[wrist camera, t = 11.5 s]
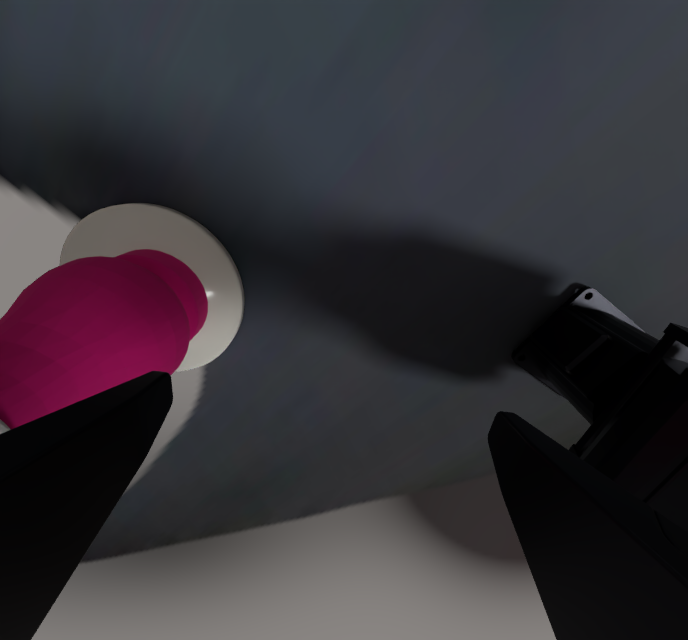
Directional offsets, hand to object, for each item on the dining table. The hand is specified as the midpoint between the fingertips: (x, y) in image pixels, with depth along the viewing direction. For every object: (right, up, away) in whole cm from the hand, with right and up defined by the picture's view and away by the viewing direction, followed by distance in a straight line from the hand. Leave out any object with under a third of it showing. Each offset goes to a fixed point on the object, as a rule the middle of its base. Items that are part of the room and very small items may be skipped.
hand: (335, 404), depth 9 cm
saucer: (-12, +4, +13) cm, 18 cm away
